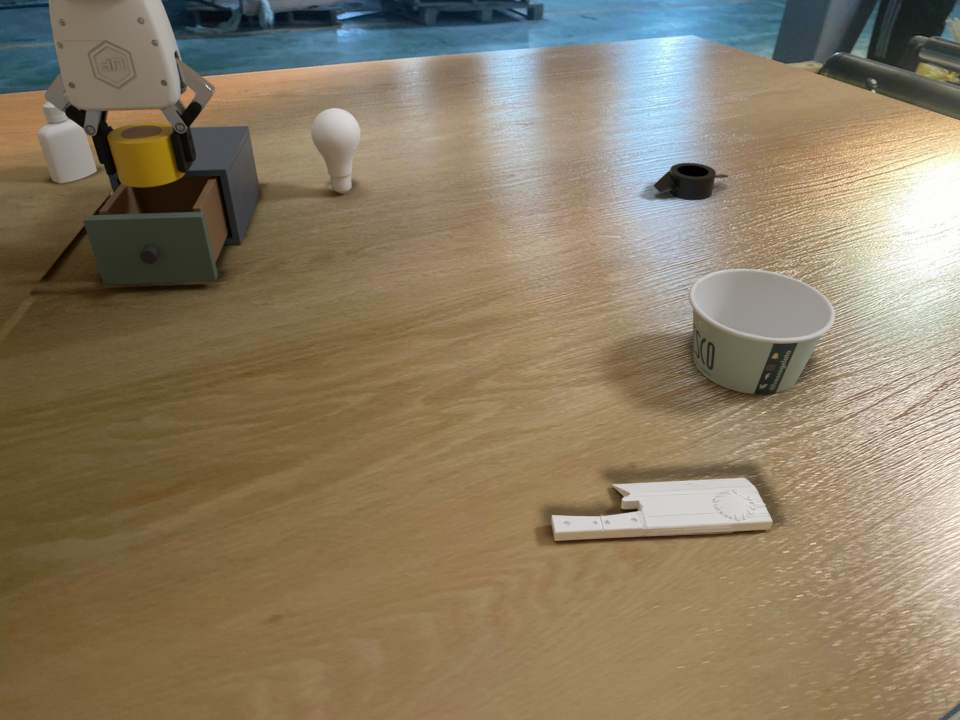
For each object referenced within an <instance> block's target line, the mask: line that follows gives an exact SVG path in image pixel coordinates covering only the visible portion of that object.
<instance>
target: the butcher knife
mask: <svg viewBox="0 0 960 720" xmlns="http://www.w3.org/2000/svg"><path fill="white" fill-rule="evenodd" d="M611 487H613V488H614V489H615V490H616V491H617V492H618V493H619V494H620V495H622V498H621V504H620V509H621V510H637V511H631V512H625V513H618V514H608V515H603V514H600V515H598V516H597V515H596V516H594V515H593V516H592V515H589V516H587V515H558V514H551V518H550V524H551V529H552V533H553V539H554V541H555V542H558V541H559V542H560V541H562V542H563V541H576V540H577V541H578V540H579V541H580V540H594V539H595V540H597V539H615V538H616V539H617V538H635V537H662V536H663V537H666V536H674V535H680V536H686V535H687V536H689V535H690V536H691V535H692V536H693V534H705V535H715V534H717V533H726V534H731V533H733V532H745V531H765V530H771V528H772V525H773V519H772V517H771V514H770V511H768V509H767V504H766V503H764V501H763V498H762V497H761V495H760V493H759V490H758V489H757V488H756V485H754V484H753V483H751V481H750V480H749V479H747V478H746V477H732V478H714V479H713V478H712V479H693V480H691V479H690V480H673V481H652V482H651V481H650V482H633V483H632V482H631V483H612V484H611Z"/></svg>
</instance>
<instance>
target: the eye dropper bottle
mask: <svg viewBox="0 0 960 720" xmlns="http://www.w3.org/2000/svg"><path fill="white" fill-rule="evenodd" d="M45 100H46V99H45ZM41 107H42V112H43V114H44V117H45V120H46V122H47V123H46V124H43V126H42V127H41V128H40V129H39V130H38V131H37V138H38V142H39V145H40V148H41V151H42V154H43V157H44V160H45V163H46V166H47V169H48V173H49V175H50V178H51V181H52V182H55V183H57V184H67V183H70V182H75V181H77V180H81V179H84V178H86V177H89V176H91V175H93V174H96V172H97V171H98V169H97V165H96V163H95V159H94V156H93V152H92V150H91V146H90V142H89V140H88V135H87V134H86V133H85V131H84V129H83V128H82V127H80V126H79V125H78V124H76V123H75V122H74V121H72V120H71V119H68V117H67V116H66V114H65V113H64V112H63V111H60V110H59V109H58V108H57V107H55V106H54V105H53V104H51V103H50V102H49V101H47V100H46V101H45V103H43V104H42V105H41Z"/></svg>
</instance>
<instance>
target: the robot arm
mask: <svg viewBox="0 0 960 720" xmlns="http://www.w3.org/2000/svg"><path fill="white" fill-rule="evenodd" d="M48 8H49V19H50V25H51V31H52V37H53V43H54V47H55V53H56V57H57V63H58V66H59V71H60V72H59V73H58V75H57V76H56V77H55V78H54V80H53V81H52V82H51V84H50V85H49V87H48V88H47V89H46V91H45V92H44V95H43V96H44V99H45V100H47V101H49V102H50V103H51V104H53V105H54V106H55V107H57V108H58V109H59V110H60V111H63V112H64V113H65V114H66V116H67V119H68V120H72V121H74V122H75V123H76V124H78V125H79V126H80V127H82V128H83V129H84V131H85V133H86V136H89V137H91V139H92V142H93V147H94V150H95V153H96V156H97V159H98V162H99V164H100V165H103V167H104V170H105V174H106V175H107V176H108V175H114V174H115V173H116V172H117V170H116V166H115V163H114V159H113V156H112V153H111V149H110V146H109V142H108V139H107V135H108V134H109V133H110V132H111V131H112V130H114V129H115V128H112V125H108V122H107V120H108V113H109V112H114V111H115V112H117V111H149V110H150V111H153V110H160V111H161V113H162V114H163V116H164V117H165V119H166V120H167V121H168V122H169V124H171V125H172V127H173V133H172V134H171V141H172V145H173V149H174V154H175V158H176V162H177V166H178V170H179V172H181V173H187V172H188V170H189V169H190V167H191V165H192V164H193V161H195V160H196V151H195V147H194V142H193V138H192V134H191V129H190V128H191V126H192V125H193V123H194V121H196V119H197V118H198V117H199V115H200V114H201V113H202V111H203V110H204V109H205V107H206V106H207V104H208V103H209V102H210V100H211V99H212V98H213V96H214V94H215V93H216V88H215V86H214V84H212V83H211V82H210V81H208V80H207V79H206V78H204V77H203V76H202V75H200V74H199V73H198V72H196V70H194V69H193V68H191V66H190V65H187V64H186V63H185V62H184V61H183V60H182V56H181V53H180V49H179V47H178V43H177V40H176V37H175V34H174V31H173V30H174V29H173V28H172V25H171V23H170V20H169V17H168V14H167V12H166V9H165V6H164V4H163V2H162V0H48ZM188 88H189V89H191V91H193V92H194V97H193V98H192V100H191V101H190V102H189V104H188V105H187V107H186V106H185V104H184V103H183V101H182V99H181V96H182V95H183V94H185V93H186V92H187V89H188Z"/></svg>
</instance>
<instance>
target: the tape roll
mask: <svg viewBox="0 0 960 720" xmlns="http://www.w3.org/2000/svg"><path fill="white" fill-rule="evenodd" d="M113 129H114V130H112V131H111V132H110V133H109V134H108V135H107V139H108V142H109V146H110V149H111V153H112V156H113V159H114V163H115V166H116V170H117V173H118V177H119V180H120V182H121V183H122V184H124V185H126V186H130V187H155V186H160V185H165V184H168V183H171V182H174V181H176V180H178V179H180V178H181V177H183V176H184V174H185V173H181V172H179V170H178V166H177V162H176V158H175V154H174V149H173V145H172V141H171V134H172V133H173V127H172V125H171V124H170V123H168V122H161V121H142V122H134V123H130V124H126V125H122V126H120V127H119V126H118V127H116V128H113Z"/></svg>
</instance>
